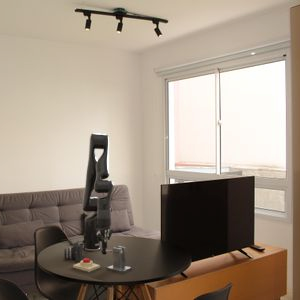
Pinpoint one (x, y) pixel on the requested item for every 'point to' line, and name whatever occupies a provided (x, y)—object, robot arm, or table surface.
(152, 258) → the table surface
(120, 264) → the base
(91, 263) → the button block
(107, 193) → the robot arm
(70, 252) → the camera
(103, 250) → the lever handle
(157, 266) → the table surface
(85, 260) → the button
